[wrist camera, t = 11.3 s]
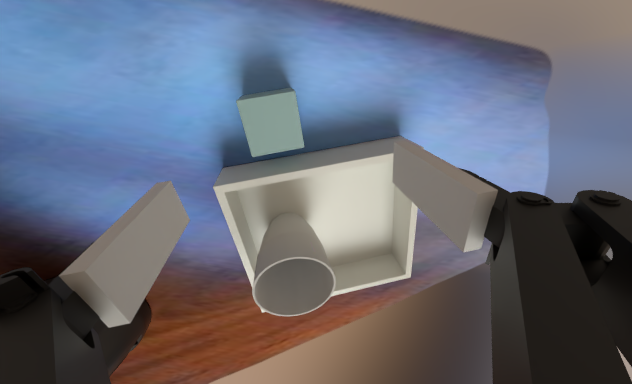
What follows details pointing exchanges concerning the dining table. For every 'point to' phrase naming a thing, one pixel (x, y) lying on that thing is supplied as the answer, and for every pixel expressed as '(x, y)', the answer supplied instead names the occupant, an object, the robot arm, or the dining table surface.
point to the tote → (327, 209)
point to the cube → (271, 121)
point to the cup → (292, 269)
